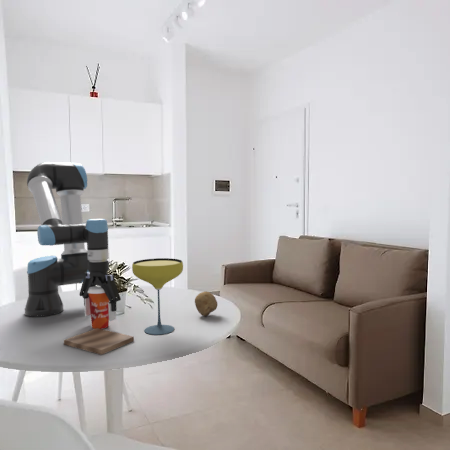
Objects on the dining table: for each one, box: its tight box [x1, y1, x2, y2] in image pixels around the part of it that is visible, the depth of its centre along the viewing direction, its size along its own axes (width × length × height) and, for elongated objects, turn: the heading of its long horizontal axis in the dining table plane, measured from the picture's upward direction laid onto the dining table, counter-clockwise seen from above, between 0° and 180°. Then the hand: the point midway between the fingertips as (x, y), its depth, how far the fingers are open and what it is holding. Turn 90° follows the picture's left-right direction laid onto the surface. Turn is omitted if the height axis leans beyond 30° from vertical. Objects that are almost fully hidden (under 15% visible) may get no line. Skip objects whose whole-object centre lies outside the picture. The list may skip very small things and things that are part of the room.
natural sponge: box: [194, 291, 218, 317], centre depth 166 cm, size 9×9×10 cm
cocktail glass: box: [131, 257, 184, 336], centre depth 149 cm, size 18×18×25 cm
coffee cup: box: [88, 285, 110, 330], centre depth 154 cm, size 8×8×15 cm
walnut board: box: [63, 328, 135, 356], centre depth 137 cm, size 18×14×2 cm
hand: (100, 317), depth 154 cm, fingers open, 12 cm apart
